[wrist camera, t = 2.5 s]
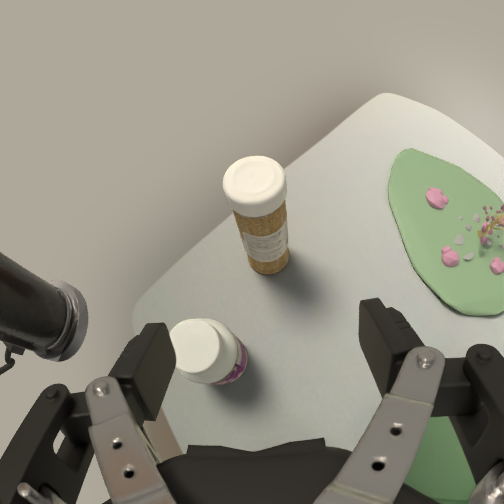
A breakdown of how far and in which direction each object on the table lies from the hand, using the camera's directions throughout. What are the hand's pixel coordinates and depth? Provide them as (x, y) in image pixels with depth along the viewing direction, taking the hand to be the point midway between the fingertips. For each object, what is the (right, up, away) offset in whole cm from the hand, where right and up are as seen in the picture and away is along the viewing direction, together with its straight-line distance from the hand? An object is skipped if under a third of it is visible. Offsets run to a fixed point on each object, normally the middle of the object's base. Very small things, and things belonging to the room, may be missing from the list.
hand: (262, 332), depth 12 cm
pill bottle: (-3, -8, +17) cm, 19 cm away
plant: (+26, +7, +20) cm, 33 cm away
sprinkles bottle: (+1, +3, +21) cm, 21 cm away
